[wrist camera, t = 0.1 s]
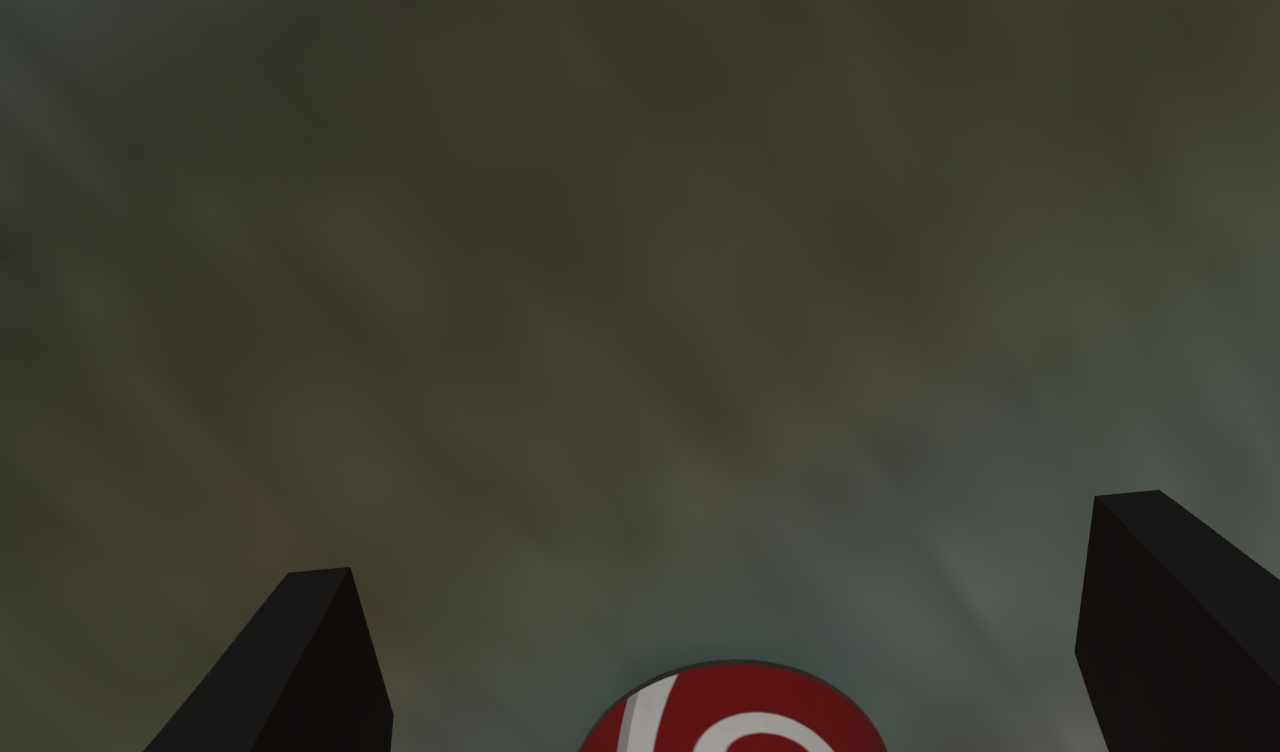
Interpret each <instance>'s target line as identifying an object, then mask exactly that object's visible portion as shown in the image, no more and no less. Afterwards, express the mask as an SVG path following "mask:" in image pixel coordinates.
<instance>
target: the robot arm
mask: <svg viewBox="0 0 1280 752" xmlns="http://www.w3.org/2000/svg"><path fill="white" fill-rule="evenodd" d="M1075 655H1076V658H1077V661H1078V664H1079V667H1080V670H1081V673H1082V676H1083V679H1084V682H1085V685H1086V688H1087V691H1088V694H1089V697H1090V700H1091V703H1092V706H1093V709H1094V712H1095V715H1096V717H1097V720H1098V723H1099V726H1100V728H1101V731H1102V734H1103V737H1104V740H1105V742H1106V745H1107V748H1108V750H1109V752H1280V580H1279V579H1278V578H1276V577H1275V576H1274V575H1272V574H1271V573H1270V572H1268V571H1267V570H1266V569H1264V568H1263V567H1262V566H1260V565H1259V564H1258V563H1256V562H1255V561H1254V560H1252V559H1251V558H1250V557H1248V556H1247V555H1246V554H1244V553H1243V552H1242V551H1240V550H1239V549H1238V548H1236V547H1235V546H1234V545H1232V544H1231V543H1230V542H1228V541H1227V540H1226V539H1225V538H1223V537H1222V536H1221V535H1219V534H1218V533H1217V532H1215V531H1214V530H1213V529H1211V528H1210V527H1209V526H1207V525H1206V524H1205V523H1203V522H1202V521H1201V520H1199V519H1198V518H1197V517H1195V516H1194V515H1193V514H1191V513H1190V512H1189V511H1187V510H1186V509H1185V508H1183V507H1182V506H1181V505H1179V504H1178V503H1177V502H1175V501H1174V500H1172V499H1171V498H1170V497H1168V496H1167V495H1166V494H1164V493H1163V492H1161V491H1160V490H1153V491H1143V492H1132V493H1122V494H1111V495H1101V496H1095V498H1094V505H1093V513H1092V521H1091V529H1090V537H1089V544H1088V552H1087V560H1086V568H1085V576H1084V583H1083V591H1082V599H1081V607H1080V614H1079V622H1078V630H1077V638H1076V646H1075ZM392 727H393V712H392V708H391V705H390V701H389V698H388V694H387V691H386V688H385V684H384V681H383V677H382V674H381V671H380V667H379V664H378V660H377V657H376V654H375V650H374V647H373V643H372V640H371V637H370V633H369V630H368V626H367V623H366V620H365V616H364V613H363V609H362V606H361V603H360V599H359V596H358V592H357V589H356V586H355V582H354V579H353V575H352V572H351V568H350V567H344V568H334V569H323V570H313V571H302V572H292V573H288V574H287V575H286V576H285V578H284V579H283V580H282V581H281V582H280V583H279V585H278V586H277V587H276V588H275V590H274V591H273V592H272V593H271V594H270V596H269V597H268V598H267V599H266V601H265V602H264V603H263V604H262V606H261V607H260V608H259V609H258V611H257V612H256V613H255V614H254V616H253V617H252V618H251V619H250V621H249V622H248V623H247V625H246V626H245V627H244V628H243V630H242V631H241V632H240V633H239V635H238V636H237V637H236V639H235V640H234V641H233V642H232V644H231V645H230V646H229V647H228V649H227V650H226V651H225V652H224V654H223V655H222V656H221V657H220V659H219V660H218V661H217V663H216V664H215V665H214V666H213V668H212V669H211V670H210V671H209V673H208V674H207V675H206V676H205V678H204V679H203V680H202V681H201V683H200V684H199V685H198V686H197V687H196V689H195V690H194V691H193V692H192V693H191V695H190V696H189V697H188V698H187V699H186V701H185V702H184V703H183V704H182V705H181V707H180V708H179V709H178V710H177V711H176V713H175V714H174V715H173V716H172V717H171V719H170V720H169V721H168V722H167V724H166V725H165V726H164V727H163V728H162V730H161V731H160V732H159V733H158V734H157V736H156V737H155V738H154V739H153V740H152V742H151V743H150V744H149V745H148V746H147V747H146V749H145V750H144V751H143V752H390V750H391V739H392Z"/></svg>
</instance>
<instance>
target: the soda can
mask: <svg viewBox="0 0 1280 752" xmlns="http://www.w3.org/2000/svg"><path fill="white" fill-rule="evenodd" d="M579 752H887V750H886V747H885V744H884V742H883V740H882V738H881V736H880V734H879V732H878V730H877V729H876V727H875V726H874V724H873V723H872V721H871V720H870V718H869V717H868V716H867V715H866V714H865V713H864V711H863V710H862V709H861V708H860V707H859V706H858V705H857V704H856V703H855V702H854V701H853V700H852V699H851V698H850V697H848V696H847V695H846V694H844V693H843V692H842V691H840V690H839V689H838V688H836V687H834V686H833V685H831V684H830V683H828V682H826V681H824V680H822V679H820V678H818V677H816V676H814V675H812V674H810V673H807V672H804V671H802V670H799V669H796V668H793V667H789V666H786V665H782V664H777V663H772V662H767V661H757V660H740V659H731V660H716V661H709V662H702V663H697V664H693V665H688V666H684V667H681V668H678V669H675V670H672V671H669V672H666V673H664V674H661V675H659V676H656V677H654V678H652V679H650V680H648V681H646V682H644V683H642V684H641V685H639V686H637V687H636V688H634V689H633V690H631V691H630V692H628V693H627V694H625V695H624V696H623V697H621V698H620V699H619V700H618V701H616V702H615V703H614V704H613V705H612V706H611V707H610V708H609V709H608V710H607V711H606V712H605V713H604V714H603V715H602V716H601V717H600V718H599V719H598V721H597V722H596V723H595V724H594V726H593V727H592V729H591V730H590V732H589V733H588V734H587V736H586V738H585V740H584V742H583V744H582V745H581V747H580V749H579Z"/></svg>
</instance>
